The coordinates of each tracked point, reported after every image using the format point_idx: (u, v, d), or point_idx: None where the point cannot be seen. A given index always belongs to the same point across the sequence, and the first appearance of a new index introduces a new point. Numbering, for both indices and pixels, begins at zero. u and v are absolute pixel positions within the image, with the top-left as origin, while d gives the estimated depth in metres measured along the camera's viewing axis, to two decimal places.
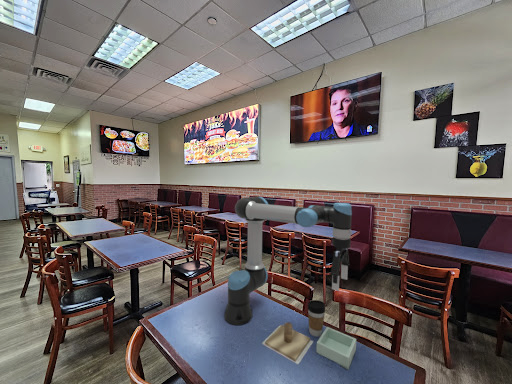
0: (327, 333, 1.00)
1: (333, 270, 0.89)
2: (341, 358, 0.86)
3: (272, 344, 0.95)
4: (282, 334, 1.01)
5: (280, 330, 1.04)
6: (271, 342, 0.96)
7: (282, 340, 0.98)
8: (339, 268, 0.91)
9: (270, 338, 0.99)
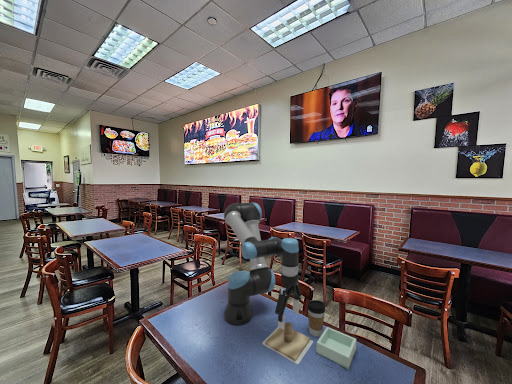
0: (327, 333, 1.00)
1: (277, 309, 0.90)
2: (341, 358, 0.86)
3: (272, 344, 0.95)
4: (282, 334, 1.01)
5: (280, 330, 1.04)
6: (271, 342, 0.96)
7: (282, 340, 0.98)
8: (284, 306, 0.91)
9: (270, 338, 0.99)
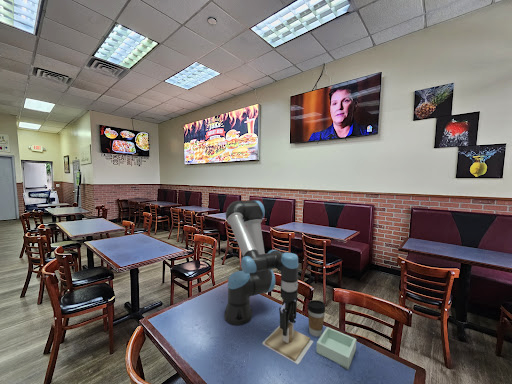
0: (327, 333, 1.00)
1: (281, 325, 0.93)
2: (341, 358, 0.86)
3: (272, 344, 0.95)
4: (282, 334, 1.01)
5: (280, 330, 1.04)
6: (271, 342, 0.96)
7: (282, 340, 0.98)
8: (287, 321, 0.95)
9: (270, 338, 0.99)
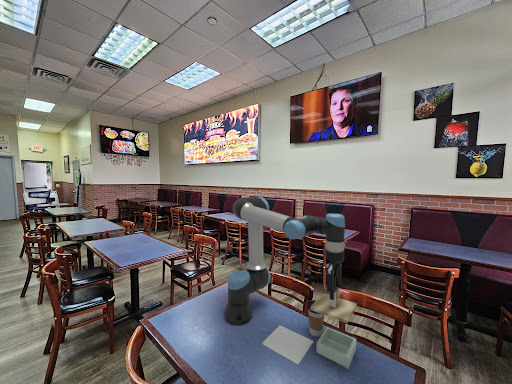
0: (327, 333, 1.00)
1: (329, 288, 0.88)
2: (341, 358, 0.86)
3: (318, 308, 0.90)
4: (326, 300, 0.96)
5: (323, 297, 0.99)
6: (317, 307, 0.91)
7: (328, 305, 0.92)
8: (335, 284, 0.90)
9: (315, 304, 0.94)
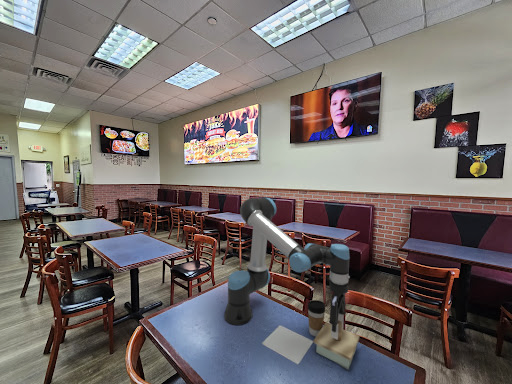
0: None
1: (332, 320, 0.88)
2: (341, 358, 0.86)
3: (322, 342, 0.91)
4: (329, 332, 0.97)
5: (326, 328, 1.00)
6: (320, 340, 0.92)
7: (331, 338, 0.93)
8: (337, 316, 0.89)
9: (318, 336, 0.94)
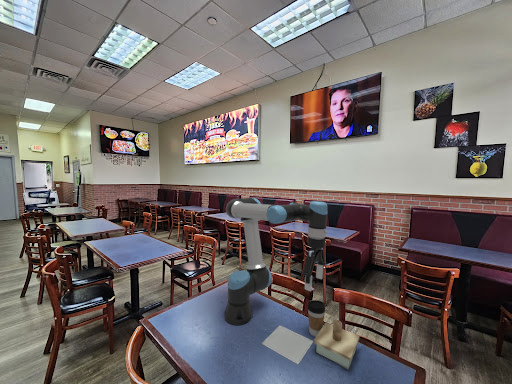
0: None
1: (306, 270, 0.88)
2: (341, 358, 0.86)
3: (322, 342, 0.91)
4: (329, 332, 0.97)
5: (326, 328, 1.00)
6: (320, 340, 0.92)
7: (331, 338, 0.93)
8: (312, 268, 0.89)
9: (318, 336, 0.94)
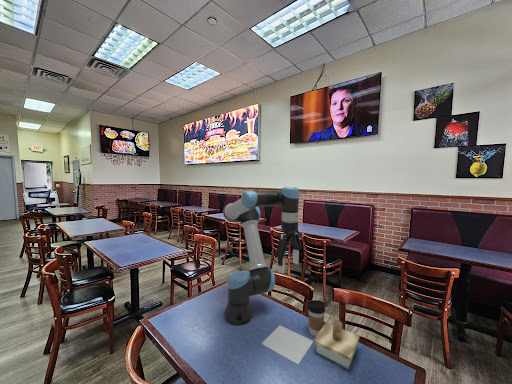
0: None
1: (277, 252, 0.90)
2: (341, 358, 0.86)
3: (322, 342, 0.91)
4: (329, 332, 0.97)
5: (326, 328, 1.00)
6: (320, 340, 0.92)
7: (331, 338, 0.93)
8: (284, 251, 0.92)
9: (318, 336, 0.94)
